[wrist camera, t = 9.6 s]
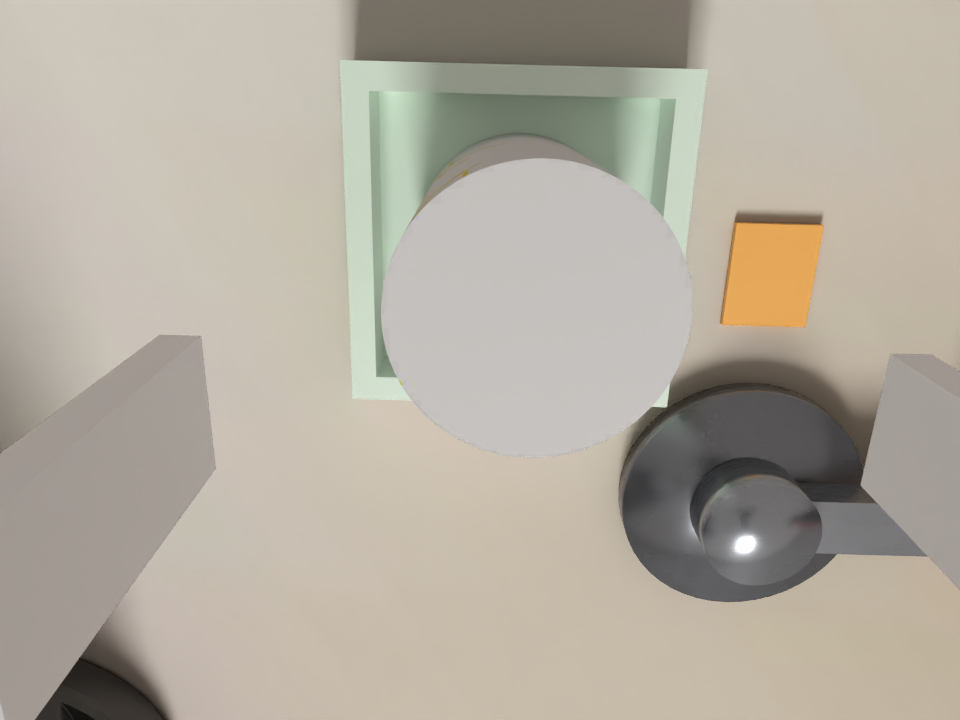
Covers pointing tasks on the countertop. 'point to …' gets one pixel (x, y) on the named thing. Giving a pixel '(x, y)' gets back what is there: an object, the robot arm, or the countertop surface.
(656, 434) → the crank base
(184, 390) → the robot arm
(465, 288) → the cup
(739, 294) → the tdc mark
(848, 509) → the crank
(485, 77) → the tray
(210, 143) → the countertop surface
